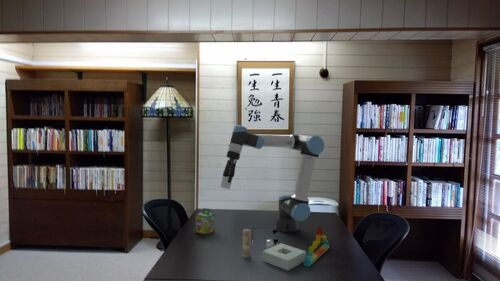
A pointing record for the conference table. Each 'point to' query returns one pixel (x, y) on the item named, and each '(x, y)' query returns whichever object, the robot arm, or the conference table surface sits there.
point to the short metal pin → (269, 243)
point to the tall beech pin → (246, 243)
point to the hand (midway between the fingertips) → (224, 188)
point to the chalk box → (205, 222)
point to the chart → (314, 256)
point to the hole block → (284, 256)
